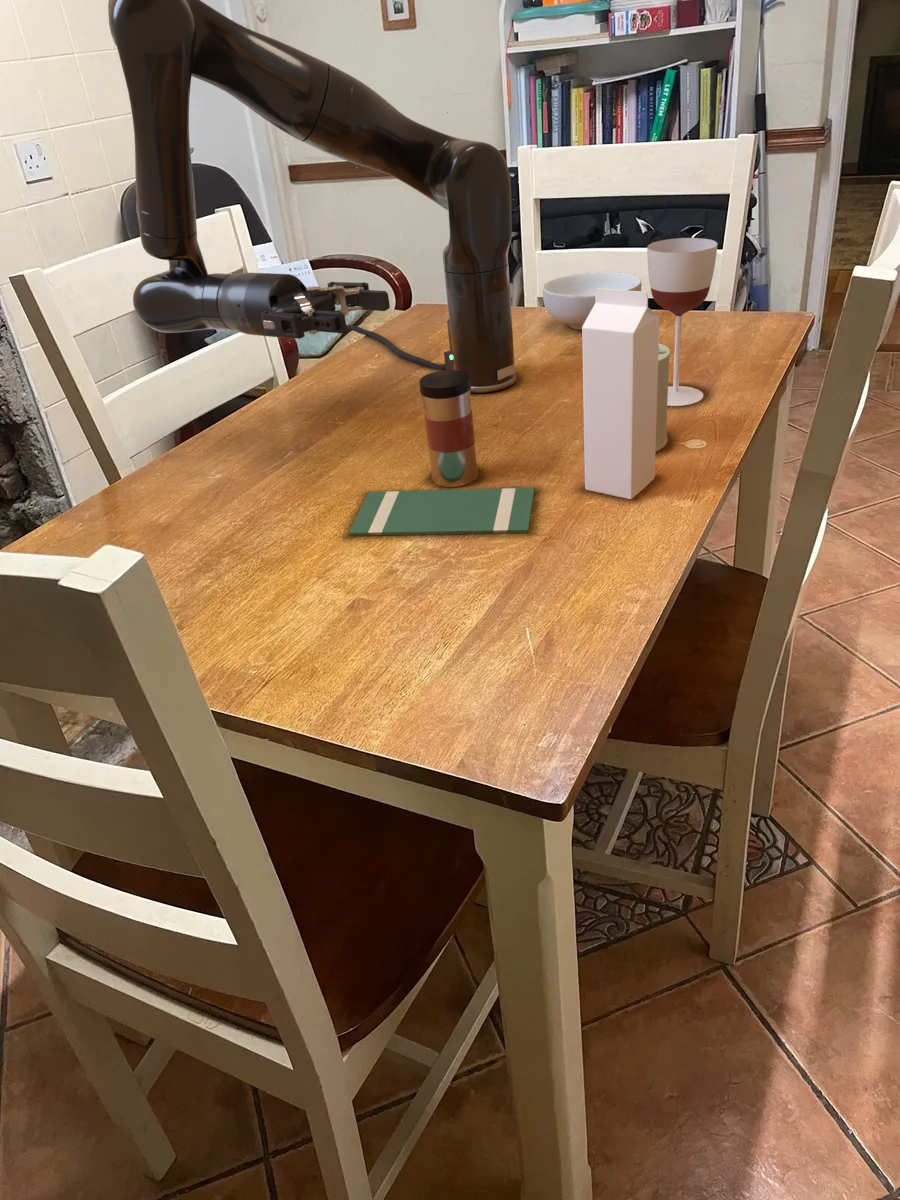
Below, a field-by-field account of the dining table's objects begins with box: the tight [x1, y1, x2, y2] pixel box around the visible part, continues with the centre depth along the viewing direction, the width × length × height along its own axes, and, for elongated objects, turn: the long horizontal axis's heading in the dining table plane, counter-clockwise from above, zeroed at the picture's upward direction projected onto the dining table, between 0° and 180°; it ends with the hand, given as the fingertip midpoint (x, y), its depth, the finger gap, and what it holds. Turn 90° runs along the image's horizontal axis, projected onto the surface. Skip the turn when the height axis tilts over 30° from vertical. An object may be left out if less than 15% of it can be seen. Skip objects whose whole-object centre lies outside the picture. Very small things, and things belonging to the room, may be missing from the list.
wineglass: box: [646, 237, 718, 407], centre depth 116 cm, size 8×9×20 cm
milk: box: [581, 288, 660, 500], centre depth 95 cm, size 6×6×22 cm
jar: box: [418, 370, 479, 488], centre depth 104 cm, size 6×6×12 cm
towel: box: [348, 487, 536, 537], centre depth 99 cm, size 10×20×1 cm, turn 81°
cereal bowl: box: [541, 271, 642, 331], centre depth 152 cm, size 17×17×7 cm
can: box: [655, 342, 671, 453], centre depth 107 cm, size 9×9×12 cm
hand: (366, 311), depth 101 cm, fingers open, 8 cm apart
